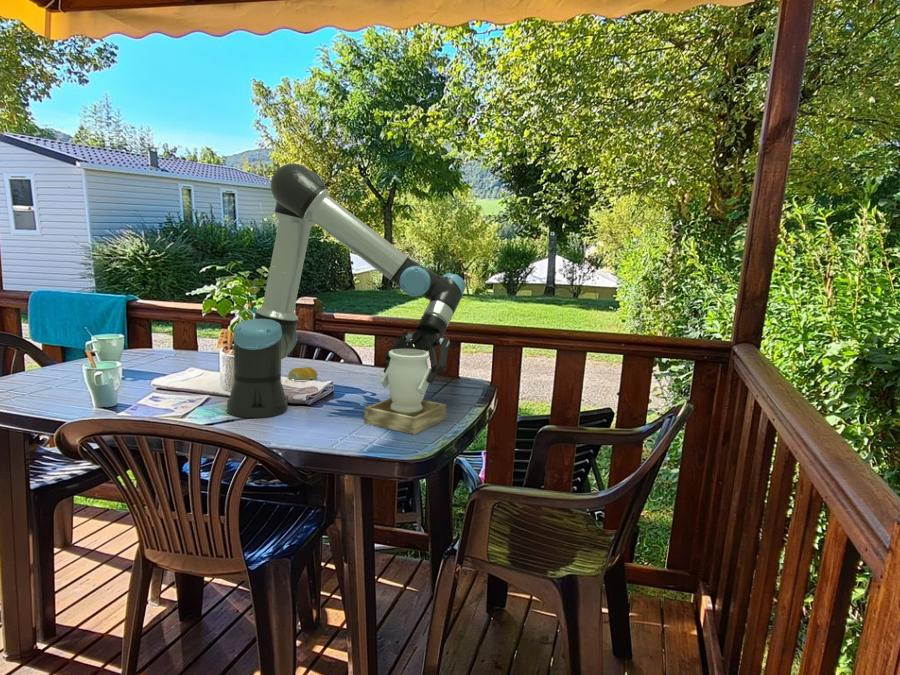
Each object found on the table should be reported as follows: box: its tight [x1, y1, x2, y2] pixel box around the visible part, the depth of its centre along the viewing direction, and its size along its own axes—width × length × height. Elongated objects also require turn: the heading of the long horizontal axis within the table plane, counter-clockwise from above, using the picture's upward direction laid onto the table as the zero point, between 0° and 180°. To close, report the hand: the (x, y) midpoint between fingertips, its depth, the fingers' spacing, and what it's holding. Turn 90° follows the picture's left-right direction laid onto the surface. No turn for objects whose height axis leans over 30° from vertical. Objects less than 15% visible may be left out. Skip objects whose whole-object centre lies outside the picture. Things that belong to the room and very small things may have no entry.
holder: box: [363, 397, 447, 436], centre depth 151 cm, size 15×16×4 cm
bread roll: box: [287, 366, 318, 381], centre depth 191 cm, size 8×9×4 cm
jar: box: [388, 349, 430, 413], centre depth 150 cm, size 11×10×15 cm
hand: (401, 388), depth 147 cm, fingers closed on jar, 10 cm apart
